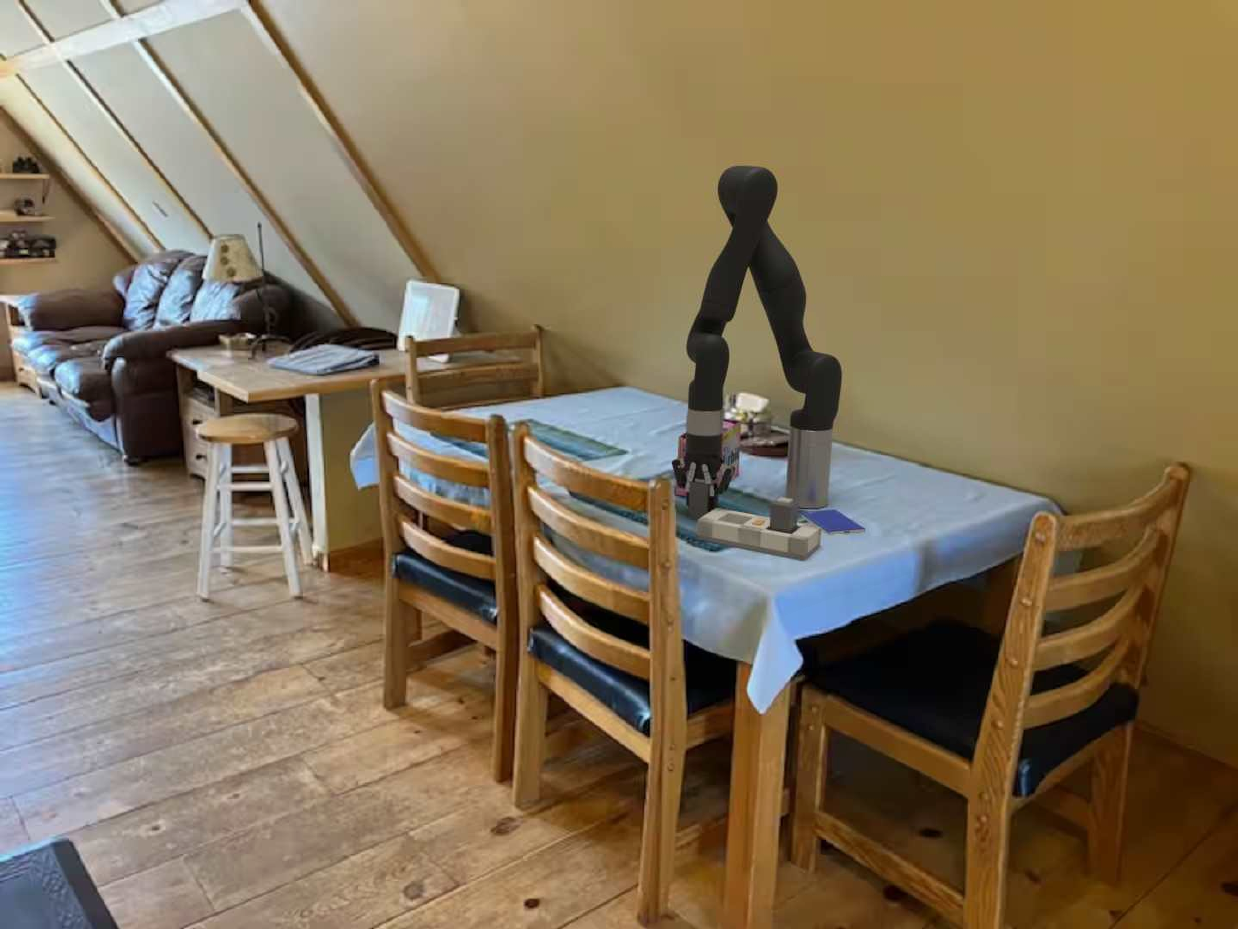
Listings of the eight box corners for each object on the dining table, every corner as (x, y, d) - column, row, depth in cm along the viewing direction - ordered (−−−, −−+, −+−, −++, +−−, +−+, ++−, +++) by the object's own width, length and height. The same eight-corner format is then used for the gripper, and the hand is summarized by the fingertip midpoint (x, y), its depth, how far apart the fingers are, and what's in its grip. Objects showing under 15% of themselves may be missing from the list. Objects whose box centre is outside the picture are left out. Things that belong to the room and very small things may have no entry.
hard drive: (801, 511, 209) (829, 530, 197) (836, 509, 211) (865, 527, 199) (800, 519, 209) (828, 538, 198) (835, 516, 211) (865, 535, 200)
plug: (696, 513, 210) (698, 474, 207) (714, 516, 208) (715, 477, 205) (688, 518, 206) (689, 479, 204) (705, 522, 204) (707, 482, 202)
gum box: (705, 501, 218) (708, 442, 215) (672, 497, 221) (674, 437, 218) (739, 475, 239) (742, 420, 236) (708, 471, 242) (710, 416, 239)
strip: (696, 539, 194) (697, 518, 193) (715, 526, 202) (716, 506, 201) (803, 560, 184) (805, 538, 182) (820, 546, 191) (821, 525, 190)
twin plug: (776, 537, 193) (778, 495, 190) (796, 541, 191) (798, 498, 188) (768, 543, 189) (771, 500, 187) (788, 547, 187) (791, 504, 185)
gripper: (744, 430, 202) (740, 511, 206) (681, 422, 209) (679, 500, 213) (728, 438, 196) (725, 520, 200) (664, 429, 202) (662, 509, 207)
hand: (701, 509), depth 207 cm, fingers closed on plug, 4 cm apart
